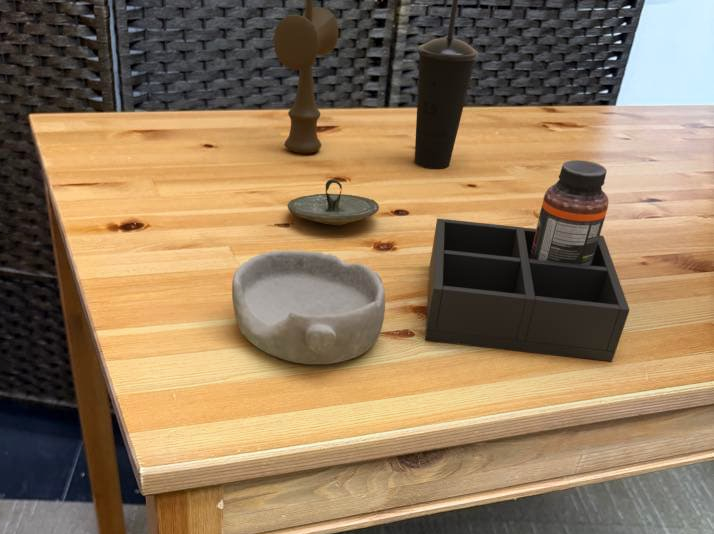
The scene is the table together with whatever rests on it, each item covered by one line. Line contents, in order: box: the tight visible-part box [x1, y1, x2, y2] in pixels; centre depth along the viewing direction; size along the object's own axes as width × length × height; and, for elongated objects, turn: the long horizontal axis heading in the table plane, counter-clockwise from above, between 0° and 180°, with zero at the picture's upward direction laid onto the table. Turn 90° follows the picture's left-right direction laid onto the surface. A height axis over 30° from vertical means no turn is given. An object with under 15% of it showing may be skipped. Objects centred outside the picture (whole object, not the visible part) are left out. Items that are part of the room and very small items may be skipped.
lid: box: [286, 178, 380, 227], centre depth 93 cm, size 11×10×5 cm
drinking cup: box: [414, 0, 479, 170], centre depth 105 cm, size 8×8×20 cm
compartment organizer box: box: [424, 218, 630, 362], centre depth 78 cm, size 17×17×5 cm
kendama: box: [273, 0, 340, 154], centre depth 107 cm, size 6×10×20 cm, turn 160°
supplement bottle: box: [530, 159, 609, 266], centre depth 78 cm, size 6×6×11 cm
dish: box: [231, 250, 386, 365], centre depth 72 cm, size 14×14×5 cm
